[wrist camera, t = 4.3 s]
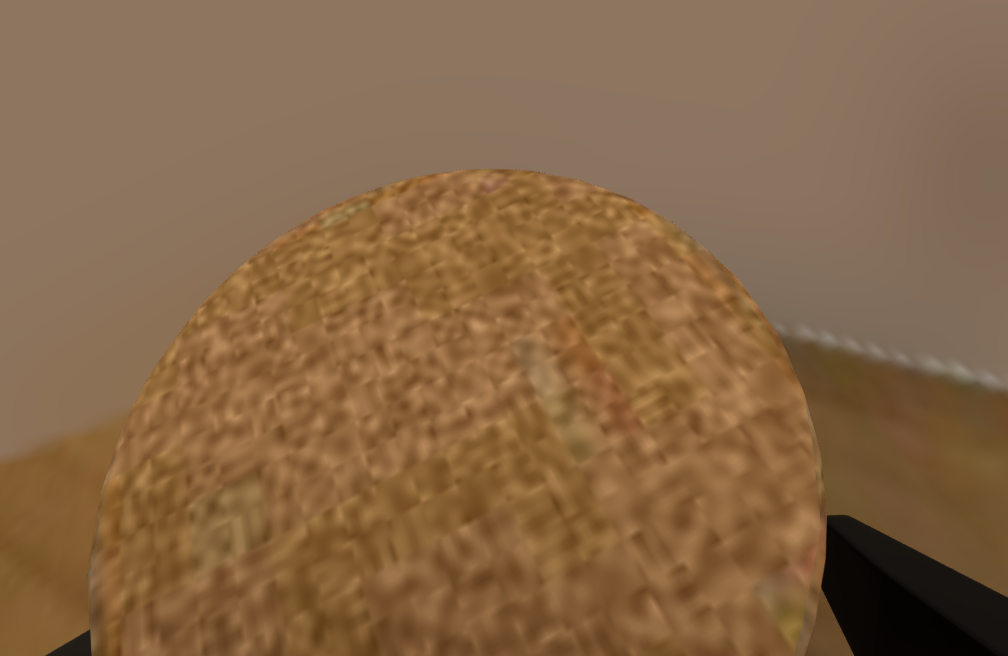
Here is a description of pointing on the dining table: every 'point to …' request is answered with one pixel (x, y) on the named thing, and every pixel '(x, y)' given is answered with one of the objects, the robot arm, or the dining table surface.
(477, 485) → the bottle
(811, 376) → the dining table surface
